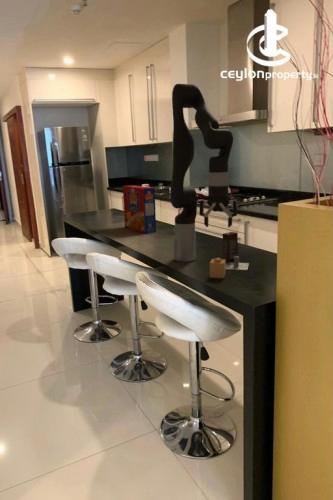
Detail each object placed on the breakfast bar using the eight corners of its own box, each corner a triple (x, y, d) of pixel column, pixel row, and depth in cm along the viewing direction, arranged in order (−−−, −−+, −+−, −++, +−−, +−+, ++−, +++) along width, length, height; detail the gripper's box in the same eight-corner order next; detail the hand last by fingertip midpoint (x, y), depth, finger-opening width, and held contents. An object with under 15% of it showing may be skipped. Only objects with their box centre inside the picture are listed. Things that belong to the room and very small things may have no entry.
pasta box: (124, 227, 263) (122, 186, 256) (135, 226, 267) (133, 185, 260) (145, 234, 240) (143, 188, 233) (156, 232, 244) (154, 187, 237)
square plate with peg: (223, 269, 163) (223, 259, 162) (225, 263, 172) (225, 253, 171) (247, 270, 160) (247, 260, 159) (248, 264, 169) (249, 254, 168)
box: (230, 256, 183) (231, 231, 180) (238, 258, 179) (238, 232, 176) (221, 258, 179) (222, 233, 176) (229, 260, 176) (229, 234, 173)
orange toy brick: (209, 277, 153) (209, 260, 151) (211, 273, 158) (211, 256, 156) (223, 278, 151) (224, 261, 149) (225, 274, 156) (225, 257, 155)
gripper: (197, 185, 144) (198, 228, 148) (236, 185, 141) (235, 229, 144) (201, 183, 151) (201, 224, 155) (238, 183, 148) (237, 225, 151)
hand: (218, 226), depth 150 cm, fingers open, 8 cm apart
